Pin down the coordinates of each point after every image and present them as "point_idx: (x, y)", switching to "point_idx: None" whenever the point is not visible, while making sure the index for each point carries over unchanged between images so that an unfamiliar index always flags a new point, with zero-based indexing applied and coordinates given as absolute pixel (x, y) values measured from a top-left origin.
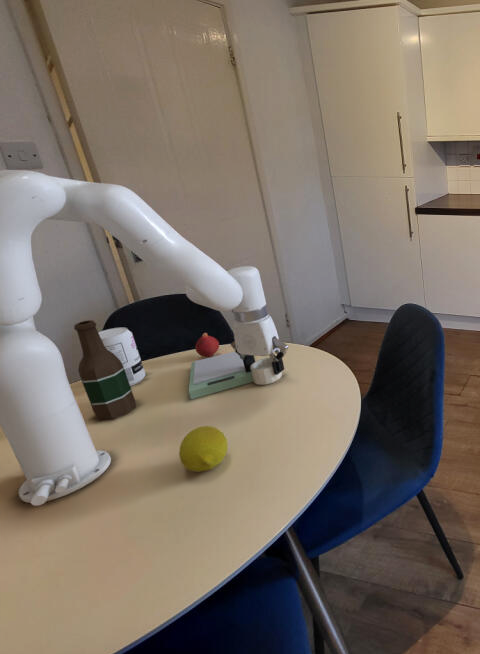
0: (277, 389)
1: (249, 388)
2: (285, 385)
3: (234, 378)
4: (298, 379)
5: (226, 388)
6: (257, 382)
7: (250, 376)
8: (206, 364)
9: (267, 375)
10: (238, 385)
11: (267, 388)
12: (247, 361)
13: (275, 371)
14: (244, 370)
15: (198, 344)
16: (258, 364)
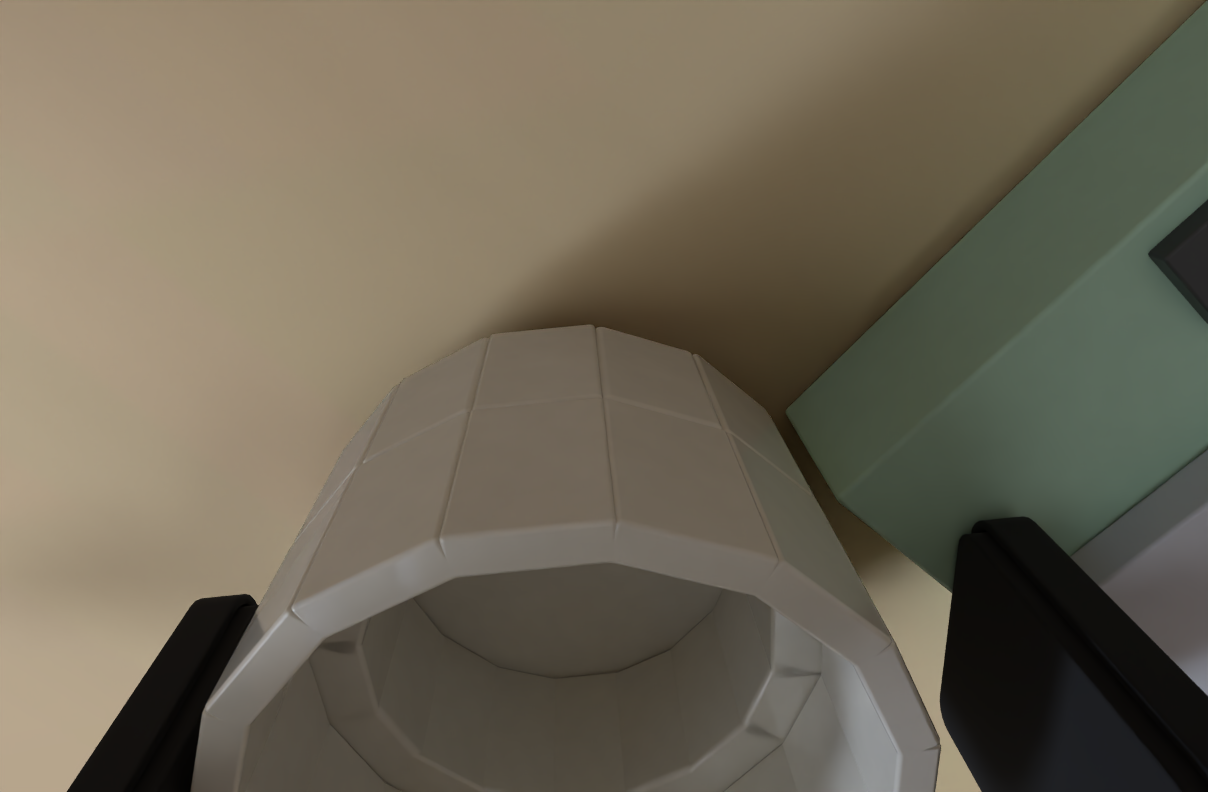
0: (78, 312)
1: (681, 200)
2: (71, 454)
3: (1144, 241)
4: (44, 641)
5: (1173, 42)
6: (567, 341)
7: (848, 447)
8: None
9: (321, 513)
10: (984, 219)
11: (311, 291)
12: (1129, 789)
13: (156, 659)
14: (1102, 553)
15: None
16: (842, 768)
